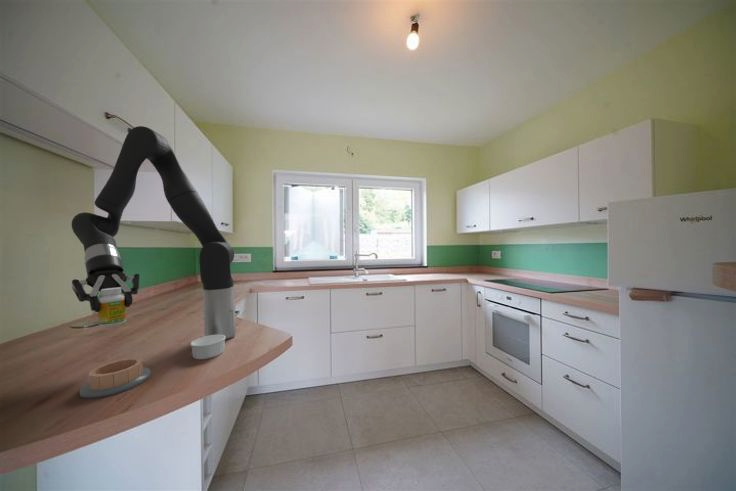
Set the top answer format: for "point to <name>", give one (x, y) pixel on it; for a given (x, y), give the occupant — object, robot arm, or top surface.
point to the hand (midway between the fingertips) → (113, 307)
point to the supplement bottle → (111, 307)
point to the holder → (115, 378)
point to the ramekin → (208, 346)
